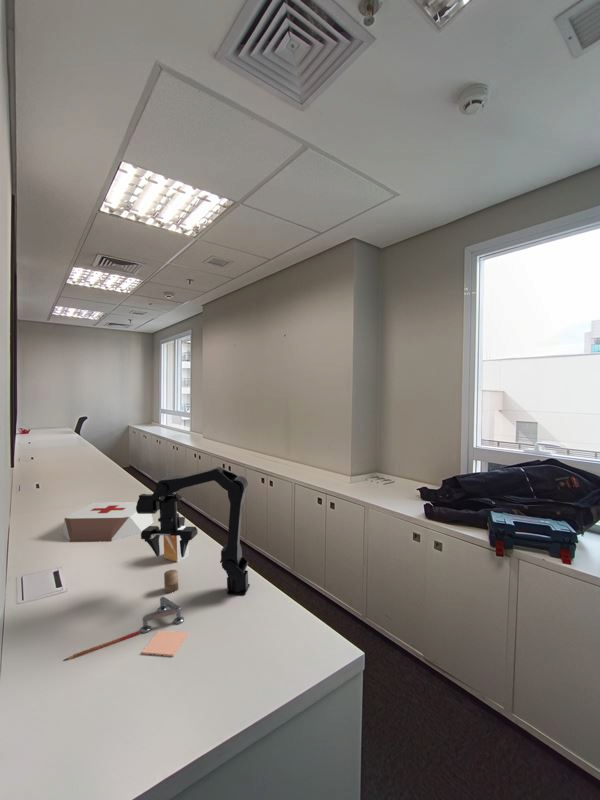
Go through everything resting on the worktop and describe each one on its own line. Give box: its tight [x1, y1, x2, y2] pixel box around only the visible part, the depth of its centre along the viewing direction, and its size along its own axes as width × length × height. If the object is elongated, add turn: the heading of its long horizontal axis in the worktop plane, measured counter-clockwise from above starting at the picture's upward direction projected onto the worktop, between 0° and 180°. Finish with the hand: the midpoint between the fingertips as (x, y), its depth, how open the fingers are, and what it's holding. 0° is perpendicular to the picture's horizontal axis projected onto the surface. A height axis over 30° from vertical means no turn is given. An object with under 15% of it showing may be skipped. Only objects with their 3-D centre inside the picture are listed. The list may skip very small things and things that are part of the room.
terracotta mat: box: [141, 630, 189, 657], centre depth 105 cm, size 9×9×1 cm
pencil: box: [62, 630, 141, 661], centre depth 105 cm, size 19×1×1 cm, turn 124°
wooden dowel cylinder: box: [163, 569, 179, 594], centre depth 133 cm, size 5×5×6 cm
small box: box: [163, 525, 190, 563], centre depth 158 cm, size 8×6×13 cm
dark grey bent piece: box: [139, 596, 185, 634], centre depth 116 cm, size 11×13×4 cm
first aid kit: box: [62, 501, 155, 543], centre depth 194 cm, size 34×41×10 cm
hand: (170, 556), depth 133 cm, fingers open, 9 cm apart
